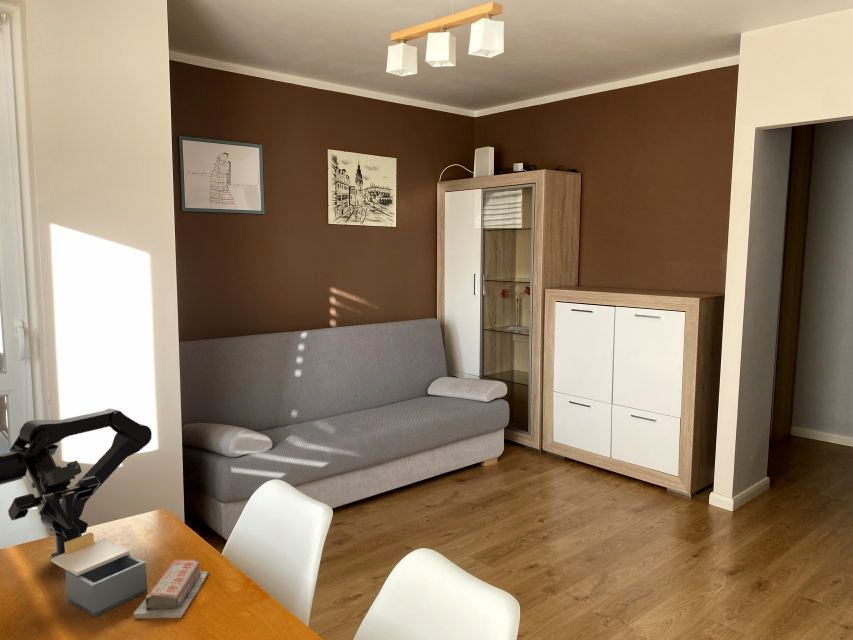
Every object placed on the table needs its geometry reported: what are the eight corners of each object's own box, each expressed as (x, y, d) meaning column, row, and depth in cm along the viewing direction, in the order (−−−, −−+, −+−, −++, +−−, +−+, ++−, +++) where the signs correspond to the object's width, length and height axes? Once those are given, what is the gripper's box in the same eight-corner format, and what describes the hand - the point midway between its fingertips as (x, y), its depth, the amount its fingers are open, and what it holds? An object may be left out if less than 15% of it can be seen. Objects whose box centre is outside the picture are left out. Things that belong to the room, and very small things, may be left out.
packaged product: (165, 557, 154) (208, 556, 154) (166, 576, 154) (209, 576, 154) (131, 599, 136) (180, 598, 136) (133, 620, 136) (181, 620, 136)
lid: (51, 561, 146) (50, 547, 145) (104, 541, 156) (103, 527, 155) (77, 576, 140) (75, 561, 139) (130, 553, 149) (129, 539, 149)
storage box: (67, 601, 143) (65, 570, 142) (120, 577, 153) (118, 549, 152) (94, 617, 137) (92, 585, 136) (147, 591, 147) (145, 562, 146)
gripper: (10, 463, 144) (37, 524, 139) (94, 443, 160) (121, 497, 154) (-3, 490, 150) (22, 549, 145) (79, 468, 165) (105, 521, 160)
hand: (70, 527), depth 151 cm, fingers closed
